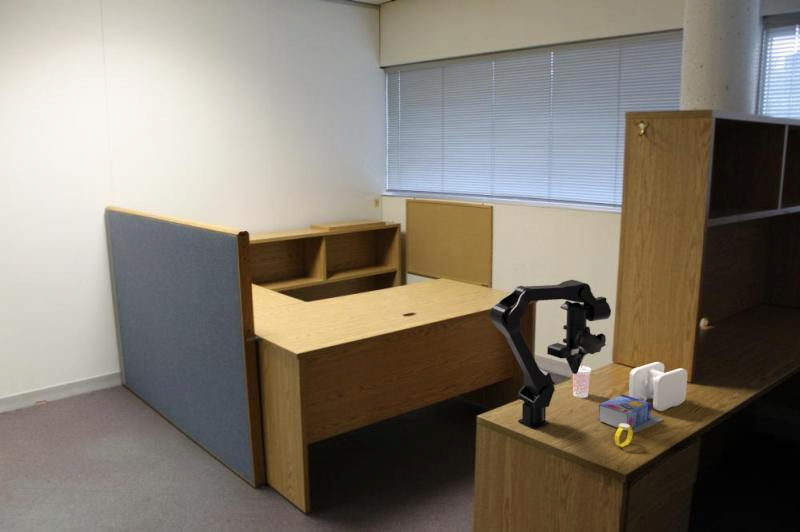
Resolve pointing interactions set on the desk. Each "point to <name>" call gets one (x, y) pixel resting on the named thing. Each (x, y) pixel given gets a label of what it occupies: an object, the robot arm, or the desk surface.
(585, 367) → the beverage cup
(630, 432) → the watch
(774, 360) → the desk surface
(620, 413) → the ink cartridge box
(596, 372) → the desk surface
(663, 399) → the cable organizer
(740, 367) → the desk surface
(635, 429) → the mat
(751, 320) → the desk surface
